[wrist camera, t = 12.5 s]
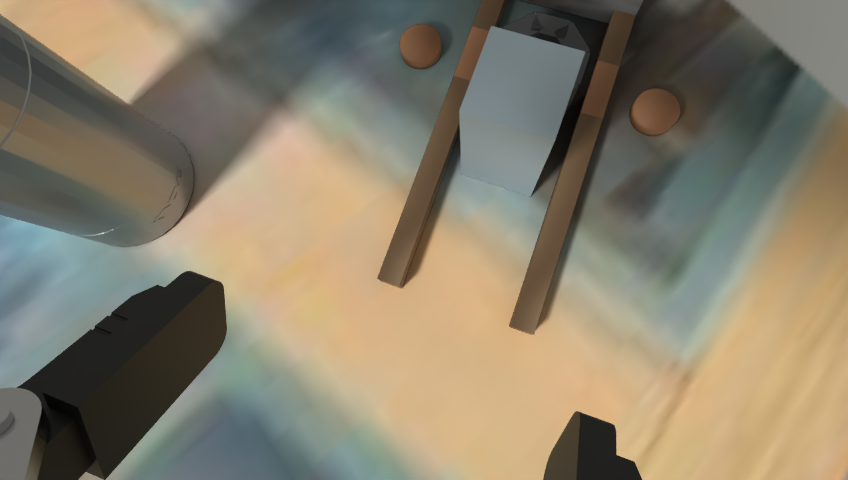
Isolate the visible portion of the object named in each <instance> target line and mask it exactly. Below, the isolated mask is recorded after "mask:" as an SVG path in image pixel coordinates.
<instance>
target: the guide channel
mask: <svg viewBox="0 0 848 480" xmlns="http://www.w3.org/2000/svg"><path fill="white" fill-rule="evenodd" d="M507 1H508V0H482V2H481V5H480V7H479V10H478V12H477V15H476V18H475V20H474V23H473V26H472V28H471V31H470V34H469V36H468V39H467V42H466V44H465V47H464V50H463V52H462V55H461V58H460V60H459V63H458V66H457V68H456V71H455V74H454V76H453V79H452V82H451V84H450V87H449V89H448V92H447V95H446V97H445V100H444V103H443V105H442V108H441V111H440V113H439V116H438V119H437V121H436V124H435V127H434V129H433V132H432V135H431V137H430V140H429V143H428V145H427V148H426V151H425V153H424V156H423V159H422V161H421V164H420V166H419V169H418V172H417V174H416V177H415V180H414V182H413V185H412V188H411V190H410V193H409V196H408V198H407V201H406V204H405V206H404V209H403V212H402V214H401V217H400V220H399V222H398V225H397V228H396V230H395V233H394V235H393V238H392V241H391V243H390V246H389V249H388V251H387V254H386V257H385V259H384V262H383V265H382V267H381V270H380V273H379V275H378V278H377V279H379V280H380V281H382V282H385V283H388V284H391V285H393V286H396V287H399V288H402V286H403V284H404V281H405V278H406V276H407V273H408V270H409V267H410V265H411V262H412V259H413V257H414V254H415V251H416V248H417V246H418V243H419V240H420V237H421V235H422V232H423V229H424V227H425V224H426V221H427V218H428V216H429V213H430V210H431V208H432V205H433V202H434V199H435V197H436V194H437V191H438V188H439V186H440V183H441V180H442V178H443V175H444V172H445V169H446V167H447V164H448V161H449V159H450V156H451V153H452V150H453V148H454V145H455V142H456V139H457V137H458V134H459V131H460V118H459V110H460V107H461V105H462V102H463V99H464V97H465V94H466V91H467V89H468V86H469V84H470V81H471V78H472V76H473V73H474V70H475V68H476V65H477V62H478V60H479V57H480V54H481V52H482V49H483V46H484V44H485V41H486V38H487V36H488V33H489V30H490V28H491V26H494V27H498V25H499V22H500V20H501V17H502V14H503V12H504V9H505V6H506V3H507ZM520 1H524V2H528V3H532V4H536V5H539V6H543V7H547V8H551V9H555V10H559V11H563V12H566V13H570V14H574V15H578V16H582V17H586V18H589V19H593V20H597V21H601V22H605V23H608V26H607V29H606V32H605V35H604V38H603V41H602V44H601V47H600V50H599V53H598V56H597V59H596V62H595V65H594V68H593V71H592V74H591V77H590V81H589V84H588V87H587V90H586V93H585V96H584V99H583V102H582V105H581V108H580V111H579V114H578V117H577V120H576V123H575V126H574V129H573V132H572V135H571V138H570V142H569V145H568V148H567V151H566V154H565V157H564V160H563V163H562V166H561V169H560V172H559V175H558V178H557V181H556V184H555V187H554V190H553V193H552V196H551V199H550V203H549V206H548V209H547V212H546V215H545V218H544V221H543V224H542V227H541V230H540V233H539V236H538V239H537V242H536V245H535V248H534V251H533V254H532V257H531V260H530V264H529V267H528V270H527V273H526V276H525V279H524V282H523V285H522V288H521V291H520V294H519V297H518V300H517V303H516V306H515V309H514V312H513V315H512V318H511V321H510V325H509V327H511V328H514V329H517V330H520V331H522V332H525V333H528V334H531V335H532V334H534V333H535V330H536V327H537V323H538V320H539V317H540V314H541V311H542V308H543V305H544V302H545V298H546V295H547V292H548V289H549V286H550V283H551V280H552V276H553V273H554V270H555V267H556V264H557V261H558V258H559V254H560V251H561V248H562V245H563V242H564V239H565V236H566V233H567V229H568V226H569V223H570V220H571V217H572V214H573V211H574V207H575V204H576V201H577V198H578V195H579V192H580V189H581V185H582V182H583V179H584V176H585V173H586V170H587V167H588V164H589V160H590V157H591V154H592V151H593V148H594V145H595V142H596V138H597V135H598V132H599V129H600V126H601V123H602V120H603V116H604V113H605V110H606V107H607V104H608V101H609V98H610V95H611V91H612V88H613V85H614V82H615V79H616V76H617V73H618V69H619V66H620V63H621V60H622V57H623V54H624V51H625V47H626V44H627V41H628V38H629V35H630V32H631V29H632V26H633V22H634V19H635V16H636V14H637V12H638V10H639V8H640V6H641V4H642V2H643V0H520ZM400 49H401V54H402V57H403V60H404V61H405V62H406V64H408V65H409V66H410V67H413V68H416V69H426V68H429V67H431V66H433V65H434V64H435V63H436V62H437V61H438V60H439V58H440V56H441V53H442V45H441V37H440V35H439V33H438V31H437V30H436V29H435V28H433V27H432V26H429V25H426V24H417V25H414V26H411V27H409V28H408V29H407V30H406V31H405V32H404V33H403V34H402V36H401V39H400ZM679 116H680V105H679V102H678V100H677V99H676V98H675V96H674V95H672V94H671V93H670V92H668V91H666V90H663V89H649V90H647V91H644V92H643V93H641V94H640V95H639V96H638V98H637V99H636V100H635V102H634V103H633V105H632V106H631V109H630V113H629V117H630V121H631V124H632V125H633V127H634V128H635V129H636V130H637V131H638V132H640V133H642V134H644V135H648V136H658V135H661V134H664V133H665V132H667V131H668V130H669V129H670V128H671V127H672V126H673V125H674V124H675V123H676V121H677V120H678V118H679Z"/></svg>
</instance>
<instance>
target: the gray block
mask: <svg viewBox="0 0 848 480" xmlns="http://www.w3.org/2000/svg"><path fill="white" fill-rule="evenodd" d="M584 54H585V51H581V50H578V49H574V48H570V47H567V46H563V45H559V44H556V43H552V42H548V41H545V40H541V39H538V38H534V37H530V36H527V35H523V34H519V33H516V32H512V31H508V30H505V29H501V28H498V27H494V26H491V28H490V30H489V33H488V36H487V38H486V41H485V44H484V46H483V49H482V52H481V54H480V57H479V60H478V62H477V65H476V68H475V70H474V73H473V76H472V78H471V81H470V84H469V86H468V89H467V91H466V94H465V97H464V99H463V102H462V105H461V107H460V110H459V118H460V150H461V175H464V176H467V177H470V178H473V179H476V180H480V181H483V182H486V183H489V184H492V185H495V186H498V187H501V188H504V189H507V190H511V191H514V192H517V193H520V194H523V195H526V196H529V197H531V194H532V192H533V190H534V188H535V185H536V183H537V181H538V178H539V176H540V174H541V172H542V169H543V167H544V165H545V163H546V160H547V158H548V156H549V153H550V151H551V149H552V147H553V144H554V142H555V140H556V137H557V134H558V131H559V128H560V125H561V122H562V119H563V116H564V113H565V110H566V107H567V104H568V101H569V99H570V96H571V93H572V90H573V87H574V84H575V81H576V78H577V75H578V72H579V69H580V66H581V63H582V60H583V57H584Z"/></svg>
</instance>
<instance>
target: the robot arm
mask: <svg viewBox="0 0 848 480" xmlns="http://www.w3.org/2000/svg"><path fill="white" fill-rule="evenodd" d="M193 182H194V174H193V166H192V163H191V160H190V156H189V154H188V153H187V151H186V149H185V148H184V146H183V145H182V144H181V143H180V142H179V141H178V140H177V139H176V138H175V137H174V136H173V135H171V134H170V133H168V132H167V131H166V130H164V129H163V128H161V127H160V126H158V125H157V124H156V123H154V122H153V121H151V120H150V119H148V118H147V117H146V116H144V115H143V114H142V113H140V112H139V111H137V110H136V109H135V108H133V107H132V106H130V105H129V104H127V103H126V102H125V101H123V100H122V99H120V98H119V97H117V96H116V95H115V94H113V93H112V92H110V91H109V90H107V89H106V88H105V87H103V86H102V85H100V84H99V83H97V82H96V81H95V80H93V79H92V78H90V77H89V76H88V75H86V74H85V73H83V72H82V71H80V70H79V69H78V68H76V67H75V66H73V65H72V64H70V63H69V62H68V61H66V60H65V59H63V58H62V57H60V56H59V55H58V54H56V53H55V52H53V51H52V50H50V49H49V48H48V47H46V46H45V45H43V44H42V43H40V42H39V41H38V40H36V39H35V38H33V37H32V36H31V35H29V34H28V33H26V32H25V31H23V30H22V29H21V28H19V27H18V26H16V25H15V24H13V23H12V22H11V21H9V20H8V19H6V18H5V17H3V16H2V15H1V14H0V215H3V216H6V217H10V218H14V219H17V220H21V221H25V222H28V223H32V224H36V225H39V226H43V227H47V228H50V229H54V230H58V231H61V232H65V233H68V234H71V235H75V236H79V237H82V238H86V239H90V240H93V241H97V242H101V243H104V244H108V245H113V246H120V247H130V246H138V245H141V244H145V243H148V242H150V241H152V240H154V239H156V238H158V237H160V236H162V235H163V234H164V233H165V232H167V231H168V230H169V229H170V228H172V227H173V226H174V224H175V223H176V222H177V221H178V220H179V219H180V217H181V216H182V214H183V213H184V211H185V209H186V207H187V206H188V203H189V200H190V197H191V194H192V190H193ZM226 331H227V325H226V311H225V298H224V287H223V284H222V283H221V282H219V281H216V280H214V279H211V278H208V277H206V276H203V275H200V274H197V273H195V272H192V271H187V272H184V273H182V274H181V275H179V276H178V277H177V278H176V279H175V280H174V281H172V282H171V283H170V284H169V285H168V286H166V287H162V286H159V285H156V286H154V287H152V288H149V289H147V290H145V291H143V292H140V293H138V294H136V295H133V296H132V297H130V298H129V299H128V300H127V301H125V302H124V303H123V304H122V305H120V306H119V307H118V308H117V309H115V310H114V311H113V312H112V314H111V316H107V317H106V318H104V319H103V320H102V321H101V322H99V323H98V324H97V325H96V326H95V328H94V329H93V330H89V331H88V332H87V333H86V334H84V335H83V336H82V337H81V338H79V339H78V340H77V341H76V342H75V343H73V344H72V345H71V346H70V347H68V348H67V349H66V350H65V351H63V352H62V353H61V354H60V355H58V356H57V357H56V358H55V359H53V360H52V361H51V362H50V363H49V364H47V365H46V366H45V367H44V368H42V369H41V370H40V371H39V372H37V373H36V374H35V375H34V376H32V377H31V378H30V379H29V380H27V381H26V382H25V383H23V384H22V385H20V386H18V387H17V388H2V389H0V480H78V479H79V478H80V477H81V476H82V475H83V474H84V473H85V472H88V473H90V474H93V475H95V476H97V477H99V478H101V479H104V480H105V479H106V478H107V477H108V476H109V475H110V474H111V473H112V471H113V470H114V469H115V468H116V467H117V466H118V465H119V464H120V462H121V461H122V460H123V459H124V458H125V457H126V456H127V455H128V453H129V452H130V451H131V450H132V449H133V448H134V447H135V446H136V444H137V443H138V442H139V441H140V440H141V439H142V438H143V437H144V435H145V434H146V433H147V432H148V431H149V430H150V429H151V428H152V426H153V425H154V424H155V423H156V422H157V421H158V420H159V418H160V417H161V416H162V415H163V414H164V413H165V412H166V411H167V409H168V408H169V407H170V406H171V405H172V404H173V403H174V402H175V400H176V399H177V398H178V397H179V396H180V395H181V394H182V393H183V391H184V390H185V389H186V388H187V387H188V386H189V385H190V384H191V382H192V381H193V380H194V379H195V378H196V377H197V376H198V375H199V373H200V372H201V371H202V370H203V369H204V368H205V367H206V365H207V364H208V363H209V362H210V361H211V360H212V359H213V358H214V356H215V355H216V354H217V353H218V351H219V350H220V348H221V346H222V344H223V342H224V339H225V336H226ZM543 480H642V478H641V476H640V474H639V471H638V469H637V467H636V464H635V462H633V461H631V460H628V459H625V458H623V457H620V456H617V455H616V429H615V426H614V425H613V424H611V423H608V422H605V421H603V420H600V419H597V418H594V417H592V416H589V415H586V414H583V413H581V412H578V411H576V412H575V413H574V414H573V416H572V417H571V419H570V421H569V423H568V424H567V426H566V428H565V429H564V431H563V433H562V435H561V436H560V438H559V440H558V441H557V443H556V445H555V447H554V448H553V450H552V452H551V454H550V457H549V459H548V462H547V466H546V469H545V474H544V479H543Z"/></svg>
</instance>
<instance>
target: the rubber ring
mask: <svg viewBox="0 0 848 480" xmlns="http://www.w3.org/2000/svg"><path fill="white" fill-rule="evenodd" d="M570 22H571V21H570V20H566V19H562V18H559V17H555V16H551V15H547V14H543V13H540V12H536V14H535V13H534V12H533V13H531V14H529V15H527V16H525V17H522V18H520V19H518V20H516V21H514V22H512V23H510V24H508V25H506V26H503V28H502V29H505V30H508V31H512V32H516V33H519V34H523V35H527V36H530V37H534V38H538V39H541V40H545V41H548V42H552V43H556V44H559V45H563V46H567V47H570V48H574V49H578V50H581V51H585V54H584V57H583V60H582V63H581V66H580V69H579V72H578V75H577V78H576V81H575V84H574V87H573V90H572V93H571V96H570V99H569V101H568V104H567V107H566V110H565V113H566V112H567V111H568V110H569V109H570V107H571V104H572V102H573V100H574V97H575V95H576V93H577V91H578V88H579V86H580V84H581V81H582V78H583V75H584V72H585V69H586V66H587V62H588V59H589V56H590V49H589V48H588V46H587V44H586V43H585V41H584V39H583V38H582V36H581V34H580V33H579V31H578V30H577V28H576V26H575V25H574V23H573V22H572V23H570Z"/></svg>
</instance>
